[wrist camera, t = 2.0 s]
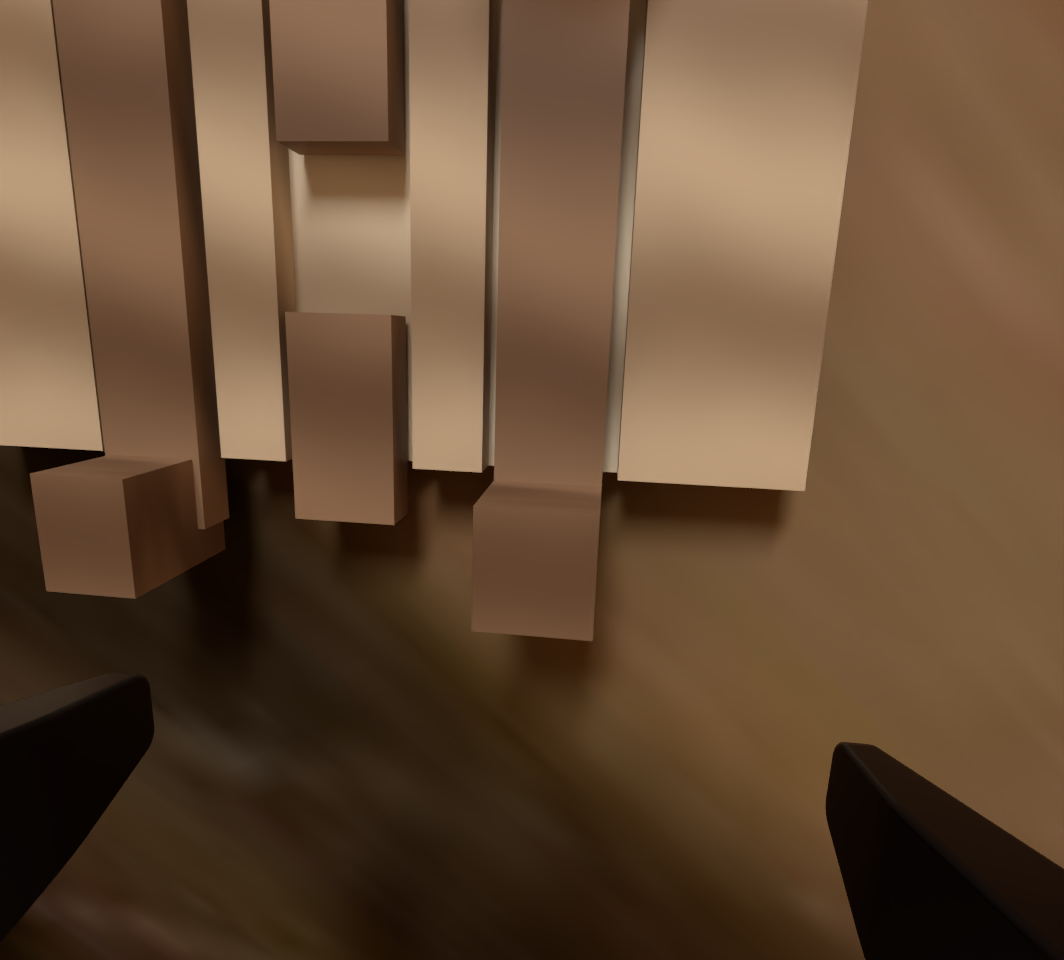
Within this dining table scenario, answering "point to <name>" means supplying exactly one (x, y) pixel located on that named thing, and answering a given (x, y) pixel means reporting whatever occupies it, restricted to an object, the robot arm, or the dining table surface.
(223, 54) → the lane board
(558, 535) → the strip
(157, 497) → the strip
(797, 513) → the dining table surface
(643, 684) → the dining table surface
